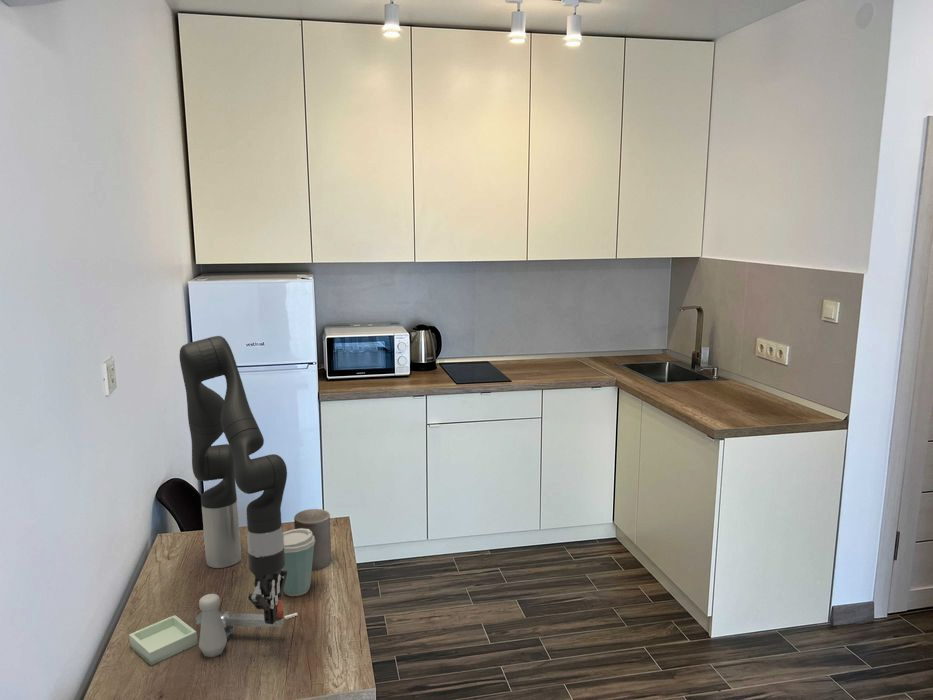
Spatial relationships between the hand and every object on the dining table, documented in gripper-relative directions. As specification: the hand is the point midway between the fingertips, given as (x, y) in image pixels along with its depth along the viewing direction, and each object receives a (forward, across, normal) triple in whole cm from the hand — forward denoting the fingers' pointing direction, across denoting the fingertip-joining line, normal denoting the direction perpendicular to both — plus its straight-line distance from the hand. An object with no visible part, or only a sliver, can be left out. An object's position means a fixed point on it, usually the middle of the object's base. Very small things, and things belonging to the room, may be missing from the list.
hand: (270, 622), depth 154 cm
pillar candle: (+5, -39, -9) cm, 40 cm away
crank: (+4, -2, -9) cm, 10 cm away
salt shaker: (+6, +4, -12) cm, 14 cm away
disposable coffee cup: (+6, -24, -7) cm, 26 cm away
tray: (+6, +4, -24) cm, 25 cm away
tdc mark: (+6, -12, -2) cm, 14 cm away
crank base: (+6, -2, -13) cm, 15 cm away
